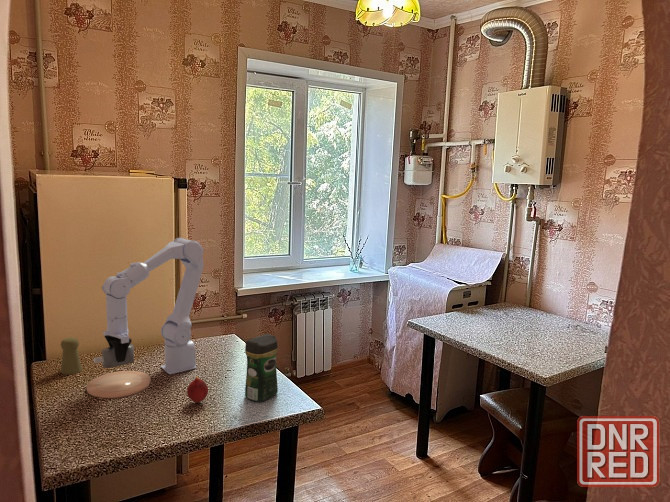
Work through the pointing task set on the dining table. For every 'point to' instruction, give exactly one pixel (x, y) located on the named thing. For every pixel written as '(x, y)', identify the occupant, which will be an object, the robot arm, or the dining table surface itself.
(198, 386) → the onion
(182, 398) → the dining table surface
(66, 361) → the cork
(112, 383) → the plate
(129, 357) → the connector
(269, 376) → the coffee jar
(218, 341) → the dining table surface
